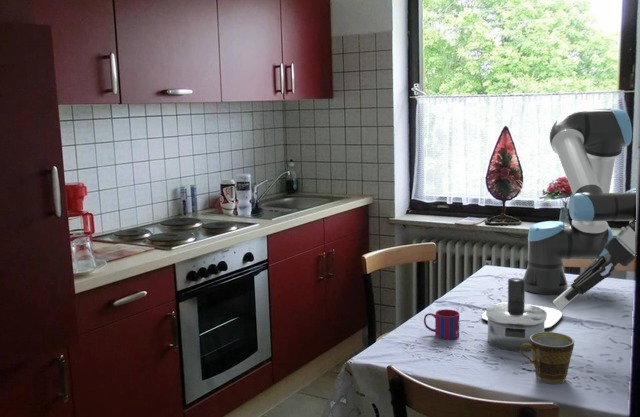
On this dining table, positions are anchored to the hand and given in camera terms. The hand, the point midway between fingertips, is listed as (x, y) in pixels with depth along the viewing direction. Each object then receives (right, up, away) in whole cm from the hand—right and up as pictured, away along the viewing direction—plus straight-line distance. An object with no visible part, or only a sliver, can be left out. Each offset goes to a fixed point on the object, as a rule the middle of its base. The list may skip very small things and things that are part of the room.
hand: (557, 305), depth 180 cm
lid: (-10, -4, +4) cm, 11 cm away
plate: (-2, -8, +24) cm, 25 cm away
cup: (-29, -10, +11) cm, 33 cm away
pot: (-10, -11, +5) cm, 15 cm away
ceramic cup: (-10, -15, -20) cm, 27 cm away
